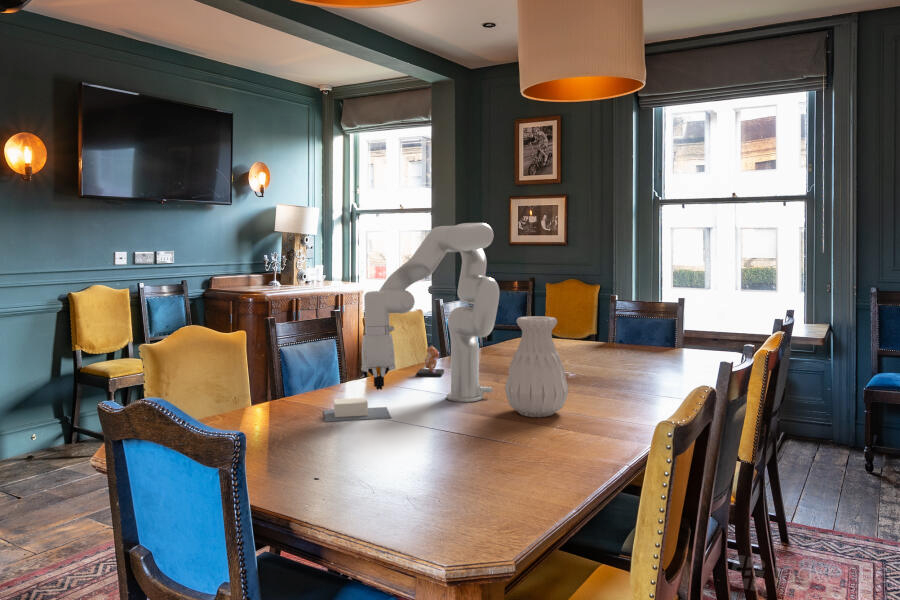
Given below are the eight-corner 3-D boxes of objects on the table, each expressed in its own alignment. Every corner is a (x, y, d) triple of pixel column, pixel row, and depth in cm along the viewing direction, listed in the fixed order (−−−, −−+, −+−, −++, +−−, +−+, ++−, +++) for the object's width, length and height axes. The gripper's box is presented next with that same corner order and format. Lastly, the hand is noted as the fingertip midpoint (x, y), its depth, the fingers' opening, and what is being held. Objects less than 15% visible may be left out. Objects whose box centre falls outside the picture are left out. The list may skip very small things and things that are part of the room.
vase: (527, 424, 204) (528, 323, 202) (492, 410, 222) (492, 316, 219) (581, 416, 213) (583, 319, 211) (544, 403, 231) (544, 313, 229)
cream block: (365, 397, 220) (333, 399, 218) (367, 402, 213) (334, 404, 211) (365, 410, 220) (334, 412, 218) (367, 415, 214) (335, 417, 212)
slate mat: (386, 407, 225) (386, 406, 225) (391, 418, 212) (391, 417, 211) (323, 411, 221) (323, 410, 221) (325, 422, 208) (325, 421, 207)
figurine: (441, 377, 277) (440, 347, 276) (416, 376, 278) (416, 347, 278) (444, 372, 287) (444, 344, 286) (420, 372, 288) (420, 343, 287)
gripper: (399, 328, 221) (401, 384, 222) (352, 330, 218) (354, 387, 220) (402, 331, 213) (404, 389, 215) (353, 333, 211) (355, 392, 212)
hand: (379, 388), depth 217 cm, fingers closed
